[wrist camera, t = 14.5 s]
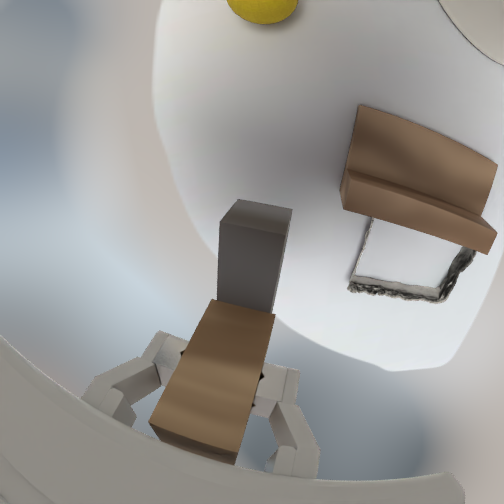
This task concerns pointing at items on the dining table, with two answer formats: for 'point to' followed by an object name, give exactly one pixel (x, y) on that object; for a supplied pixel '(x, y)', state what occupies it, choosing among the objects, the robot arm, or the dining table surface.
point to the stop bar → (417, 180)
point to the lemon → (263, 10)
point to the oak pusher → (227, 338)
